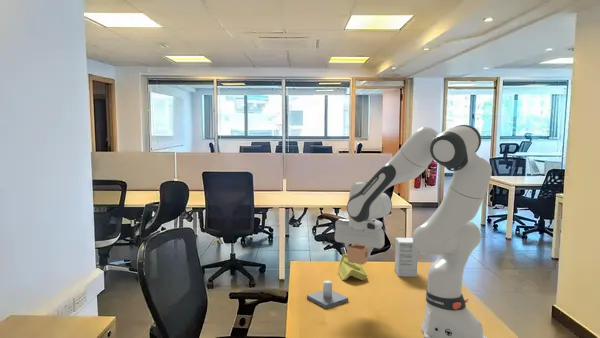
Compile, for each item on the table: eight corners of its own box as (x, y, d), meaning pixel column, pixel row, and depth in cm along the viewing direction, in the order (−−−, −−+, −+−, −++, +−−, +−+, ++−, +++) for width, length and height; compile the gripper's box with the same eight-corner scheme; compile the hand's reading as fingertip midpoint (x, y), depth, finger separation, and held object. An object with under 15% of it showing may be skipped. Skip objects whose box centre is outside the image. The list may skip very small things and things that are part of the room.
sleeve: (368, 260, 170) (369, 245, 170) (363, 264, 165) (363, 249, 164) (353, 257, 173) (354, 243, 173) (347, 261, 168) (348, 247, 167)
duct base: (348, 301, 171) (348, 283, 171) (325, 308, 164) (326, 290, 164) (328, 292, 181) (329, 275, 180) (306, 298, 174) (307, 280, 173)
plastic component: (368, 276, 194) (350, 267, 193) (361, 290, 195) (342, 281, 194) (358, 260, 214) (341, 252, 212) (352, 272, 215) (335, 264, 213)
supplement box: (417, 277, 201) (418, 242, 199) (397, 276, 201) (399, 242, 199) (412, 270, 210) (414, 237, 208) (394, 270, 210) (395, 237, 209)
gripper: (332, 220, 169) (331, 253, 171) (381, 226, 160) (380, 262, 161) (338, 217, 175) (337, 249, 176) (386, 223, 165) (385, 257, 167)
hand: (358, 255), depth 169 cm, fingers closed on sleeve, 6 cm apart
